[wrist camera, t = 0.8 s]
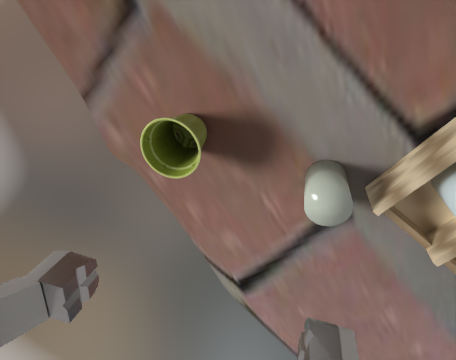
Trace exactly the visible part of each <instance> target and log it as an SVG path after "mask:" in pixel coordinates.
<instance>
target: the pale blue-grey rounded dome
mask: <svg viewBox="0 0 456 360" xmlns="http://www.w3.org/2000/svg"><path fill="white" fill-rule="evenodd" d="M430 181H431V184H432V186H433V188H434V189H435V190H436V192H437V193H438V194H439V196H440V197H441V198H442V200H443V201H444V202H445V204H446V205H447V206H448V208H449V209H450V210H451V212H452V213H453V214H454V216H455V217H456V162H455V163H454V164H452V165H451V166H449V167H448V168H446V169H445V170H443V171H442V172H441V173H439V174H438V175H436V176H435V177H433V178H432V179H431V180H430Z"/></svg>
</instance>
